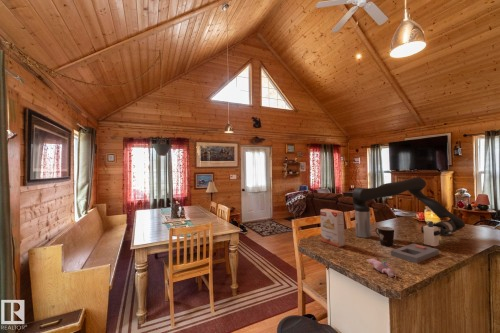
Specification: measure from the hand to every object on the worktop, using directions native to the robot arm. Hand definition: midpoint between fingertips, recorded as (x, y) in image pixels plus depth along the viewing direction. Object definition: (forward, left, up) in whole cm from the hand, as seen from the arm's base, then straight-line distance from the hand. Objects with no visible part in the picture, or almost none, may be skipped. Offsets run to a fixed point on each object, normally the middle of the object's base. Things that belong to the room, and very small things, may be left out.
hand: (428, 232), depth 125 cm
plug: (+2, +2, -7) cm, 8 cm away
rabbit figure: (-29, -41, -9) cm, 51 cm away
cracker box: (-51, -7, -9) cm, 52 cm away
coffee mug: (-21, +1, -9) cm, 23 cm away
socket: (-10, -14, -9) cm, 19 cm away
